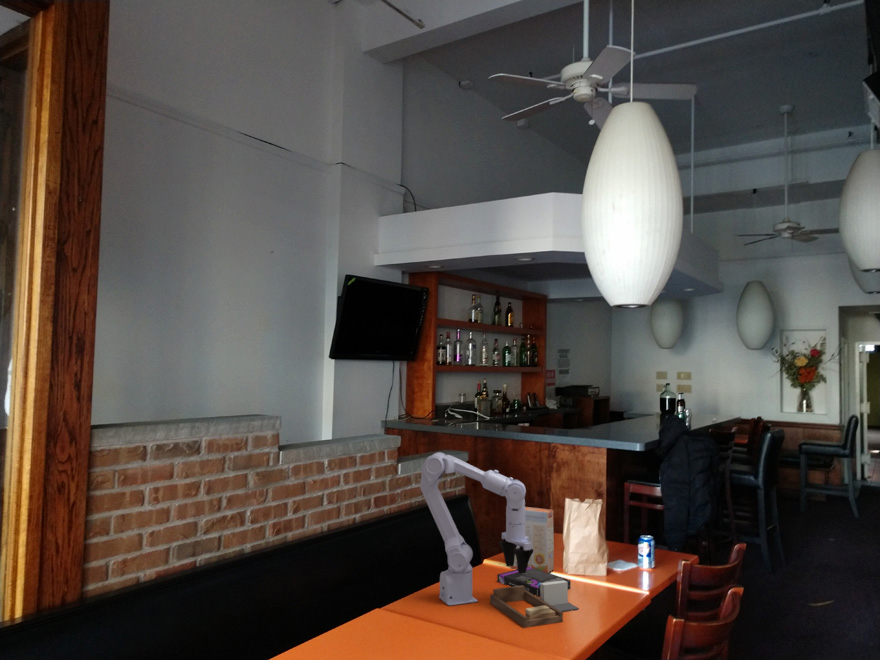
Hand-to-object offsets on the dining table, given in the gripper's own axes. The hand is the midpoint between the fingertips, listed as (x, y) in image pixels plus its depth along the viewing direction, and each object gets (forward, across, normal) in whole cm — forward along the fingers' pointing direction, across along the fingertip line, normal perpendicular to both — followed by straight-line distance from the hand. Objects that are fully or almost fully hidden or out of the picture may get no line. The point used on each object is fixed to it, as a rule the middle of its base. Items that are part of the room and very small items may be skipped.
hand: (515, 569), depth 198 cm
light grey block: (+10, -5, -10) cm, 15 cm away
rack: (+10, -6, +1) cm, 12 cm away
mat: (+10, -5, -10) cm, 15 cm away
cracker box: (+10, +29, -22) cm, 38 cm away
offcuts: (+10, -15, +1) cm, 18 cm away
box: (+11, +14, -14) cm, 22 cm away
